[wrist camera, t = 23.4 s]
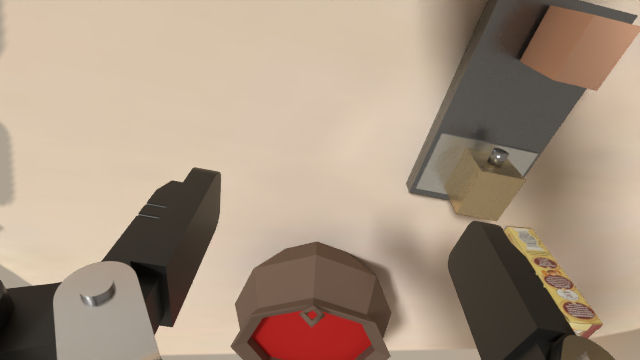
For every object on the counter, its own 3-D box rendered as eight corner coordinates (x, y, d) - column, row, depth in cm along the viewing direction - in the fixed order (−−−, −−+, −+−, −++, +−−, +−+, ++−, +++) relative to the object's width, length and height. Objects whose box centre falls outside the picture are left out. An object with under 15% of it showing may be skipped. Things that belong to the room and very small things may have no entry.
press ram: (550, 5, 29) (595, 15, 24) (590, 15, 29) (642, 27, 24) (519, 61, 32) (553, 80, 27) (556, 70, 32) (596, 90, 27)
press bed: (497, -20, 30) (508, -19, 28) (621, 12, 31) (640, 16, 29) (406, 183, 43) (409, 193, 42) (495, 200, 45) (502, 211, 43)
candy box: (505, 225, 47) (567, 322, 34) (533, 227, 47) (606, 325, 35) (483, 265, 52) (530, 362, 40) (509, 267, 52) (564, 365, 40)
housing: (471, 136, 37) (489, 159, 32) (512, 145, 37) (534, 168, 33) (444, 187, 41) (456, 213, 37) (480, 194, 41) (496, 221, 37)
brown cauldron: (375, 315, 61) (386, 415, 48) (251, 308, 62) (227, 405, 48) (398, 223, 48) (423, 326, 34) (238, 214, 48) (201, 313, 34)
